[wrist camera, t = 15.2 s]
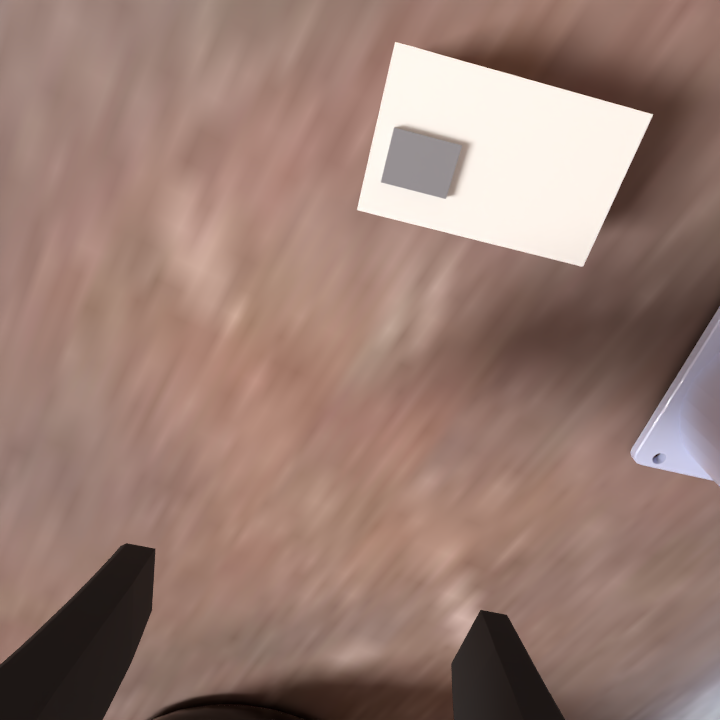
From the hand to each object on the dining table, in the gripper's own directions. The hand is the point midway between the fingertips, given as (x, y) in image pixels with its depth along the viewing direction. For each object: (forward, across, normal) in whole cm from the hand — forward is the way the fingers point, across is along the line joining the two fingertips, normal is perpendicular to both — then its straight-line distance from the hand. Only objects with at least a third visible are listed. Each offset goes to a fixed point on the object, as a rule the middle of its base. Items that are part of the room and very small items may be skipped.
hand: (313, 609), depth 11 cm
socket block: (+9, -2, -9) cm, 13 cm away
